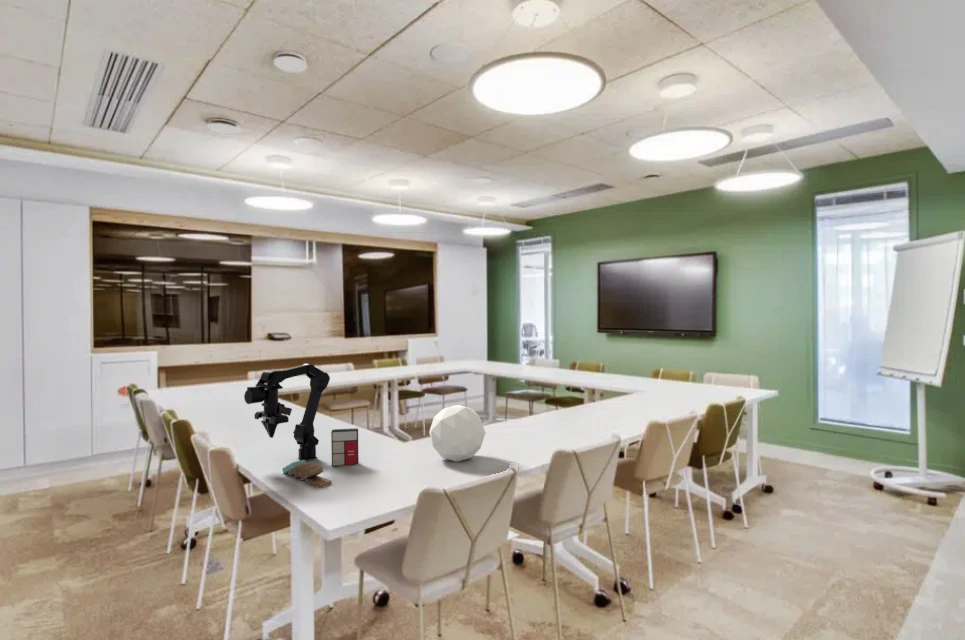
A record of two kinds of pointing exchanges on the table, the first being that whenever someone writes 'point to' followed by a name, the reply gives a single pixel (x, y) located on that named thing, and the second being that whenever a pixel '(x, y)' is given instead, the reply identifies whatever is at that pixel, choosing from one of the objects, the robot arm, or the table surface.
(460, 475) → the table surface
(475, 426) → the geometric sculpture
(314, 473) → the domino
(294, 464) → the domino
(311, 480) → the domino
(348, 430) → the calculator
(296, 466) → the domino
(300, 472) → the domino
